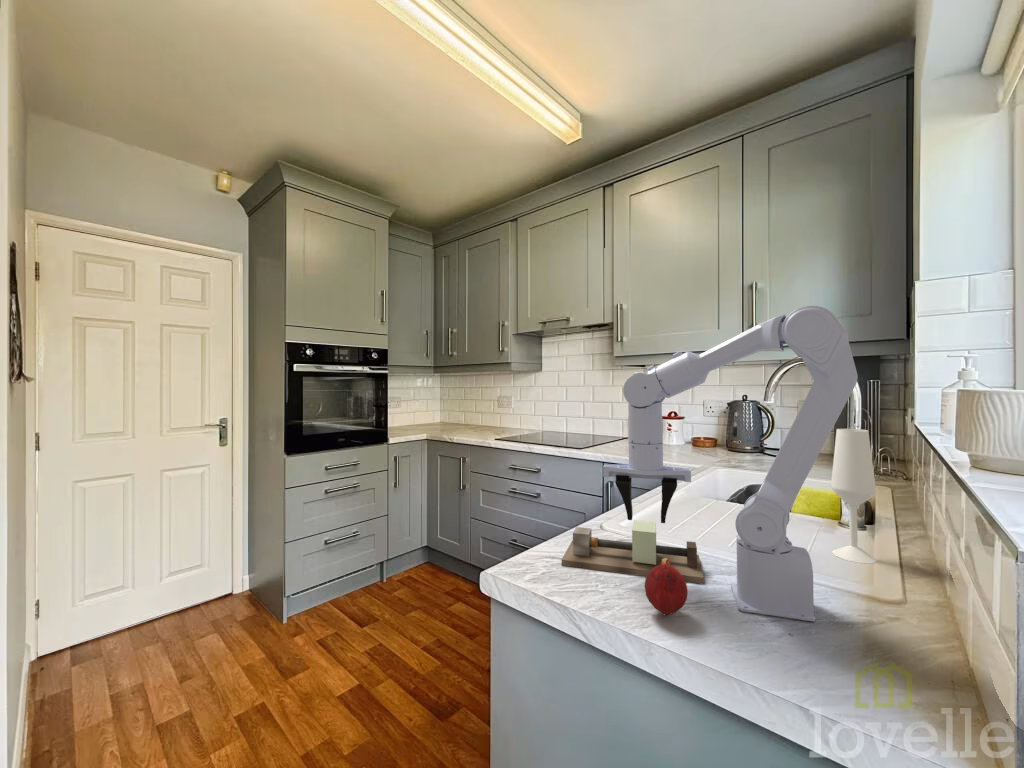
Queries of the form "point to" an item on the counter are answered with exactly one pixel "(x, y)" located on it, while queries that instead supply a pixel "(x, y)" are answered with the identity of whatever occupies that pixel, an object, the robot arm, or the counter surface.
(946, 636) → the counter surface
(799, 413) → the robot arm
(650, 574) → the onion
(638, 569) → the cord board
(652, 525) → the sleeve
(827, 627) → the counter surface
